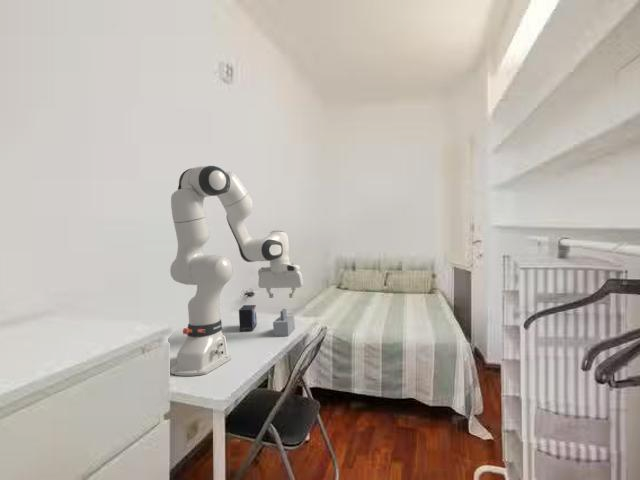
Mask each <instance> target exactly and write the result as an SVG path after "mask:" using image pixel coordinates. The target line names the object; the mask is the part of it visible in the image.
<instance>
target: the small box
mask: <svg viewBox="0 0 640 480" xmlns="http://www.w3.org/2000/svg"><path fill="white" fill-rule="evenodd" d="M238 318H239V319H238V320H239V322H238V323H239V332H243V331H244V332H253V331H254V330H255V329H256V327H257V326H258V322H257V305H256V304H246V305H245V304H244V305H243V306H241V307H240V308H239V309H238ZM256 325H257V326H256Z"/></svg>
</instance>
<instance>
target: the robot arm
mask: <svg viewBox="0 0 640 480" xmlns="http://www.w3.org/2000/svg"><path fill="white" fill-rule="evenodd" d="M212 196H213V197H215V196H216V197H217V198H218V199H219V201H220V203H221V205H222V206H223V208H224V210H225V213H226V221H227V223H228V226H229V228H230V231H231V233H232V234H233V236H234V239H235V241H236V244H237V246H238V250H239V253H240V255H239V256H240V257H241V258H242V260H243V261H245V262H247V263H253V262H269V266H267V267H265V266H264V267H261V268H259V269H258V271H257V274H258V282H257V284H258V287H259V288H260V289H266V290H265V291H266V292H267V294H268V299H273V298H274V293H272V292H271V289H279V288H280V289H281V288H282V289H288V288H289V289H290V290H291V292H290V293H288V295H289V296H288V297H289V298H291V299H293V298H294V294H295V291H296V289H298V288H300V289H301V288H302V287H303V286H304V279H303V278H304V277H303V274H302V272H301V266H300V265H299V264H296V263H293V262H290V256H289V251H290V244H289V243H290V241H289V237H288V234H287V232H285V231H283V230H282V231H281V230H271V231H270V232H269V234H268V235H267V236H265V237H263V238H259V239H258V238H257V239H255V238H252V237H251V235H250V233H249V232H248V230H247V227H246V225H245V222H244V221H245V219H246V218H247V217H249V215H250V214H251V213H252V212H253V211H252V210H253V208H254V204H253V200H252V198H251V196H250V194H249V192H248V191H247V189H246V187H245V185H244V184H243V182H242V181H241V180H240V179H239V177H238V176H237V175H236V174H235V173H233V172H232V171H225V170H224V169H222V168H220V167H218V166H215V165H208V166H202V165H201V166H200V165H199V166H196V167H192V168H188V169H186V170H185V171H183V172H182V173H181V174H180V177H179V179H178V186H177V190H176V191H174V192H173V193H172V194H171V197H170V208H171V215H172V222H173V226H174V229H175V234H176V240H177V252H176V257H175V259H174V260H173V261H172V263H171V265H170V271H169V272H170V275H171V276H170V277H171V278H172V280H174V282H176V283H180V284H183V285H187V286H196V290H195V291H196V292H195V295H194V296H193V297H191V299H190V300H189V301H188V303H187V310H188V311H187V313H188V324H187V327H186V328H183V329H182V334H183V335H187V336H186V337H185V339H184V341H183V343H182V344H181V347H180V349H179V350H178V352H177V355H176V364H174V366H173V367H171V369H169V372H170V371H171V373H172V374H171V373H170V374H171V375H173V374H175V375H174V376H183V377H185V376H187V377H188V376H191V377H192V376H193V377H195V376H200V375H201V376H202V375H206V374H208V373H210V372H213V370H215V369H217V368H219V367H221V365H224V364H225V363H228V362H229V361H231V360H232V356H231V355H230V354H229V352H228V346H227V339H226V336H225V335H224V334H223V331H222V329H223V327H222V326H223V324H222V319H221V313H220V309H221V308H220V300H221V299H220V298H221V295H222V291H223V289H224V287H225V285H226V284H227V283H228V282H229V281H230V280H231V278H232V276H233V265H232V262H231V261H230V259H228V258H227V257H223V256H220V255H215V254H213V255H212V254H211V255H209V254H208V255H205V254H204V253H203V251H204V250H203V247H204V245H205V244H206V243H207V242H208V241H209V239H210V231H209V228H208V227H209V226H208V222H207V217H206V214H205V209H204V200H205V198H208V197H212Z"/></svg>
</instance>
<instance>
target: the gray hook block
mask: <svg viewBox="0 0 640 480" xmlns="http://www.w3.org/2000/svg"><path fill="white" fill-rule="evenodd" d="M279 313H280V315H279V316H278V318H276V319H275V320H274V321H273V322H272V326H273V336H274V337H289V336H290V335H291V334H292V333H293V332H294V331H295V329H296V328H295V327H296V326H295V325H296V324H295V316H294V315H287V309H286V308H284V309H282V310H281V311H280V312H279Z"/></svg>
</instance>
